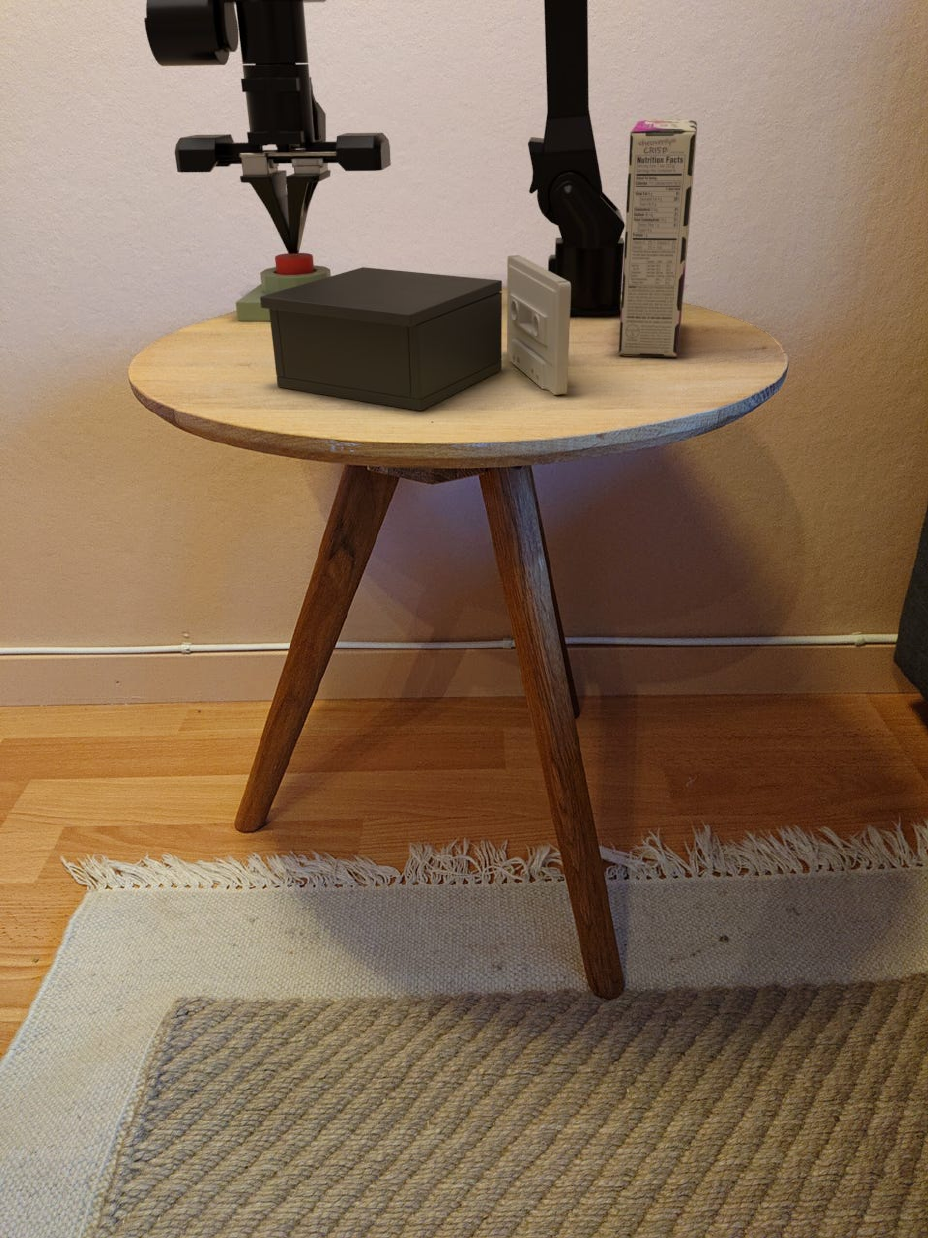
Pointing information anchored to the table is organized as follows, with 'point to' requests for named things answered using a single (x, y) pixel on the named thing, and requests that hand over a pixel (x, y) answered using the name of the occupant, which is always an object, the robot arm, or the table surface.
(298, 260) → the button
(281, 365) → the black lidded box
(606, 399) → the table surface
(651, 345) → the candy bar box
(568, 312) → the cassette
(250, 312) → the switch block
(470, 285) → the lid
